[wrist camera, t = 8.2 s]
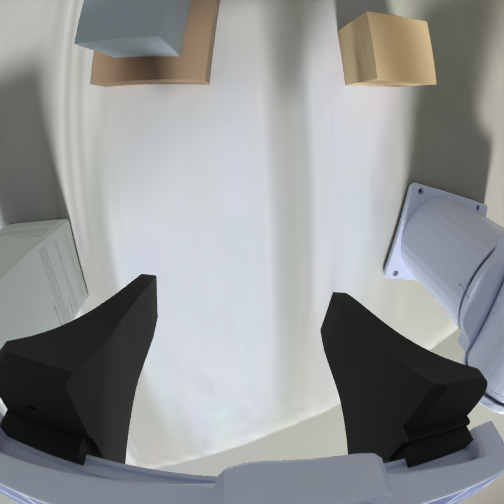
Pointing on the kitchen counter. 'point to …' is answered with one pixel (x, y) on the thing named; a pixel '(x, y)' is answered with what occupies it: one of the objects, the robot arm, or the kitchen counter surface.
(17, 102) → the kitchen counter surface
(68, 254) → the supplement box
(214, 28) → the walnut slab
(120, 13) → the slate block
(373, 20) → the oak block
